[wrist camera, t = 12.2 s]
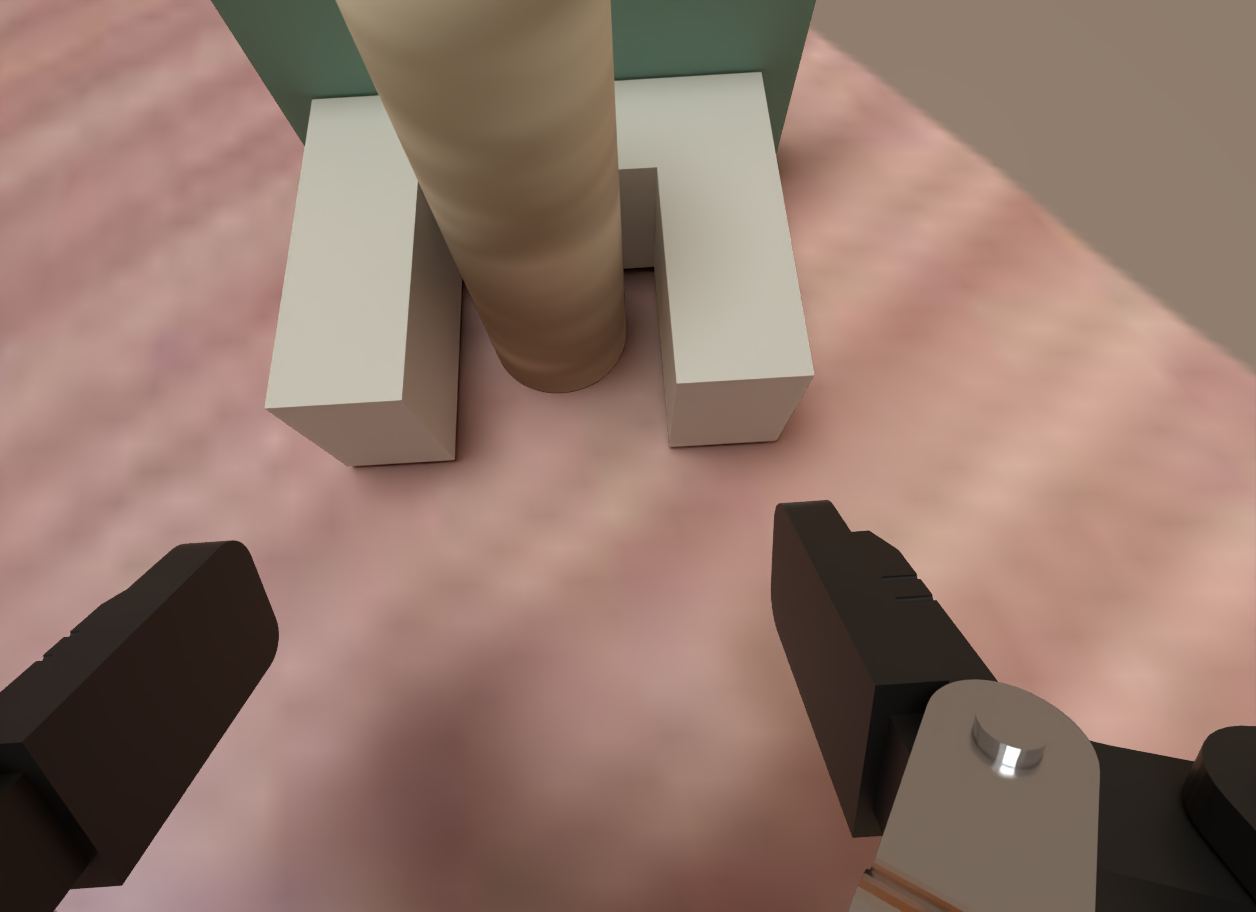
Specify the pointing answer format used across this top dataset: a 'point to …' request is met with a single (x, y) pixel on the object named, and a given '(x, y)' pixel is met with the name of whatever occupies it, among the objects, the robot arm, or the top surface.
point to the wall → (641, 34)
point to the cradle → (431, 282)
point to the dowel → (514, 165)
